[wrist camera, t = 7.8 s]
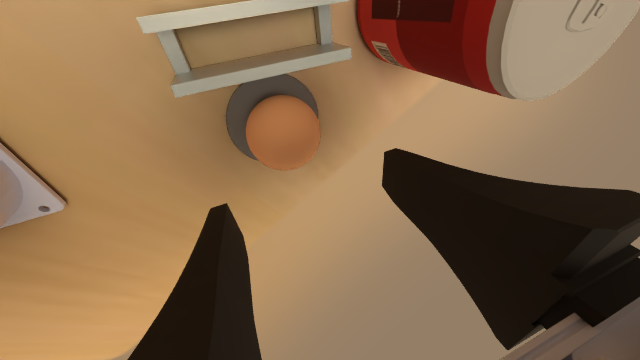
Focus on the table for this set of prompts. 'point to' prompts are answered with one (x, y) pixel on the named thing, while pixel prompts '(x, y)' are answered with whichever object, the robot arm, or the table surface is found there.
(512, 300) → the robot arm
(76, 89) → the table surface
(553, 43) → the canned food
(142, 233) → the table surface
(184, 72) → the acrylic fence
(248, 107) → the coaster
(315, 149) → the ball
